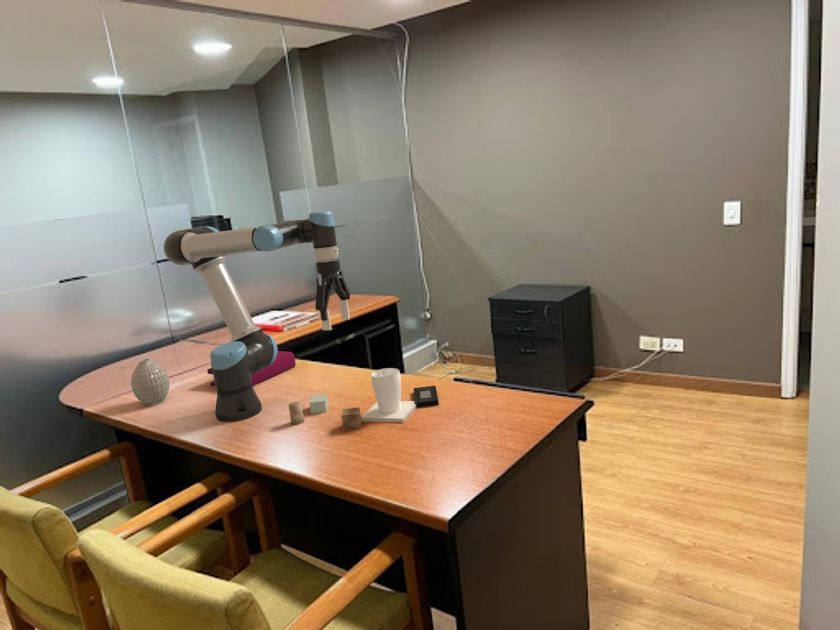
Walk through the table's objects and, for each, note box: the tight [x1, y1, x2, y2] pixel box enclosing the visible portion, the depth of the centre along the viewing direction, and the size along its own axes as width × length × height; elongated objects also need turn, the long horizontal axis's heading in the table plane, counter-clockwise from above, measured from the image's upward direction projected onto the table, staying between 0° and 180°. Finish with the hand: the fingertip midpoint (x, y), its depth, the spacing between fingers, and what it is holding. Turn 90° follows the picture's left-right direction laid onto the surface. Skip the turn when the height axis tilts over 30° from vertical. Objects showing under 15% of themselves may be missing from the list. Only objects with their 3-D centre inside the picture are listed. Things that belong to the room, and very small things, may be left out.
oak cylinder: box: [287, 401, 305, 426], centre depth 194 cm, size 4×4×6 cm
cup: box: [371, 367, 402, 413], centre depth 192 cm, size 9×9×12 cm
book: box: [206, 350, 297, 388], centre depth 249 cm, size 21×28×8 cm
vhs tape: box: [413, 385, 440, 409], centre depth 203 cm, size 8×14×2 cm, turn 2°
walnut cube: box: [341, 407, 363, 432], centre depth 186 cm, size 5×5×5 cm
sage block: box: [309, 393, 329, 415], centre depth 204 cm, size 5×7×4 cm
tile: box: [361, 400, 417, 423], centre depth 194 cm, size 14×14×1 cm
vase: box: [130, 357, 170, 406], centre depth 229 cm, size 13×13×17 cm
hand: (336, 324), depth 203 cm, fingers open, 13 cm apart
